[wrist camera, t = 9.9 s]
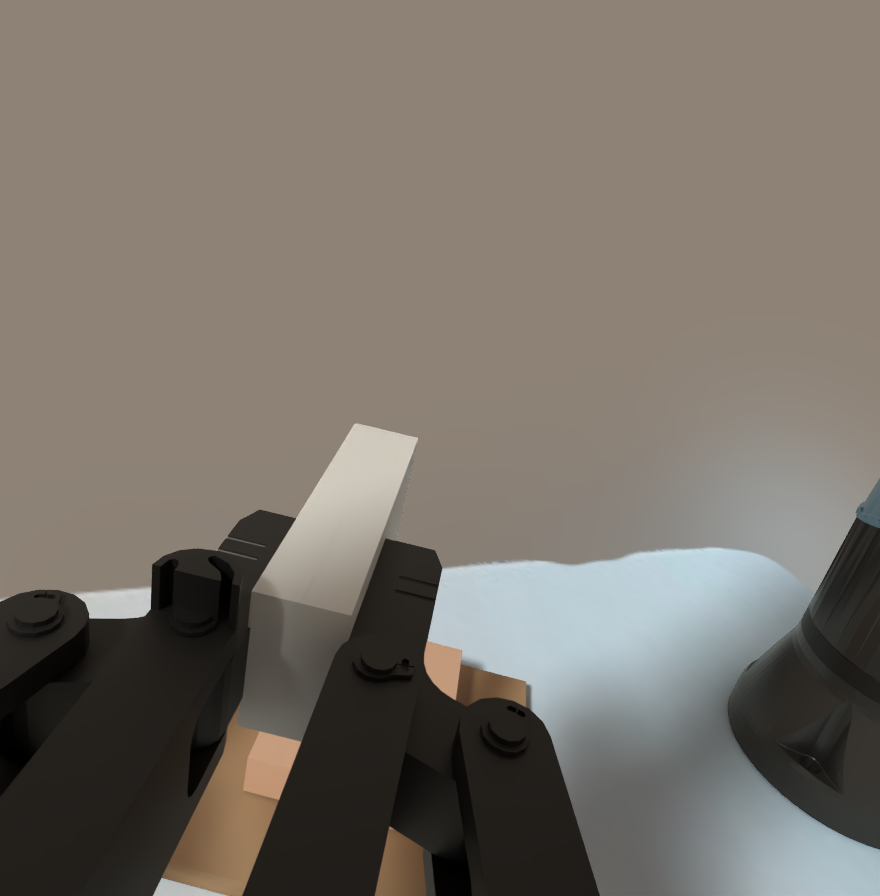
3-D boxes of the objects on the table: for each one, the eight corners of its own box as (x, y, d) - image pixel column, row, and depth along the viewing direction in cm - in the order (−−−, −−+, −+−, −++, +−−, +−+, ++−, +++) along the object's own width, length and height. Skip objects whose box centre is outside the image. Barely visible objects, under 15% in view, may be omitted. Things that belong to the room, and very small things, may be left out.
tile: (430, 841, 36) (453, 679, 47) (441, 808, 35) (462, 650, 46) (242, 792, 36) (309, 642, 47) (247, 757, 35) (314, 612, 46)
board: (521, 694, 49) (526, 681, 48) (518, 972, 32) (524, 957, 32) (244, 622, 49) (246, 609, 49) (101, 861, 33) (102, 844, 32)
